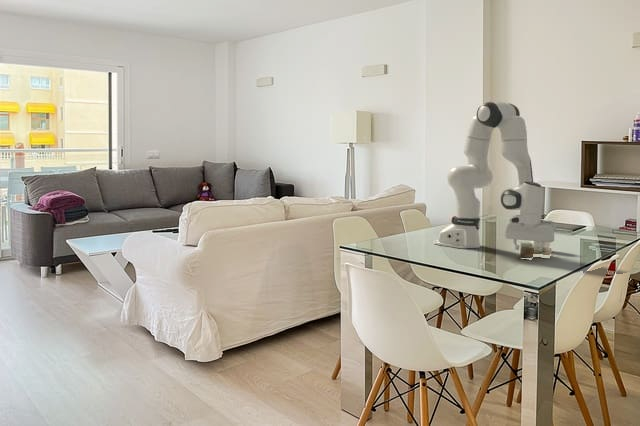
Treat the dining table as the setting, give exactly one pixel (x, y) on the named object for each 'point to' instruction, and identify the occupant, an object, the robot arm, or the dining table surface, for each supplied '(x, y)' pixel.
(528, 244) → the sage cube
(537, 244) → the jar
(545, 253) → the maple slab
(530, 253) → the walnut cube
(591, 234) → the dining table surface
